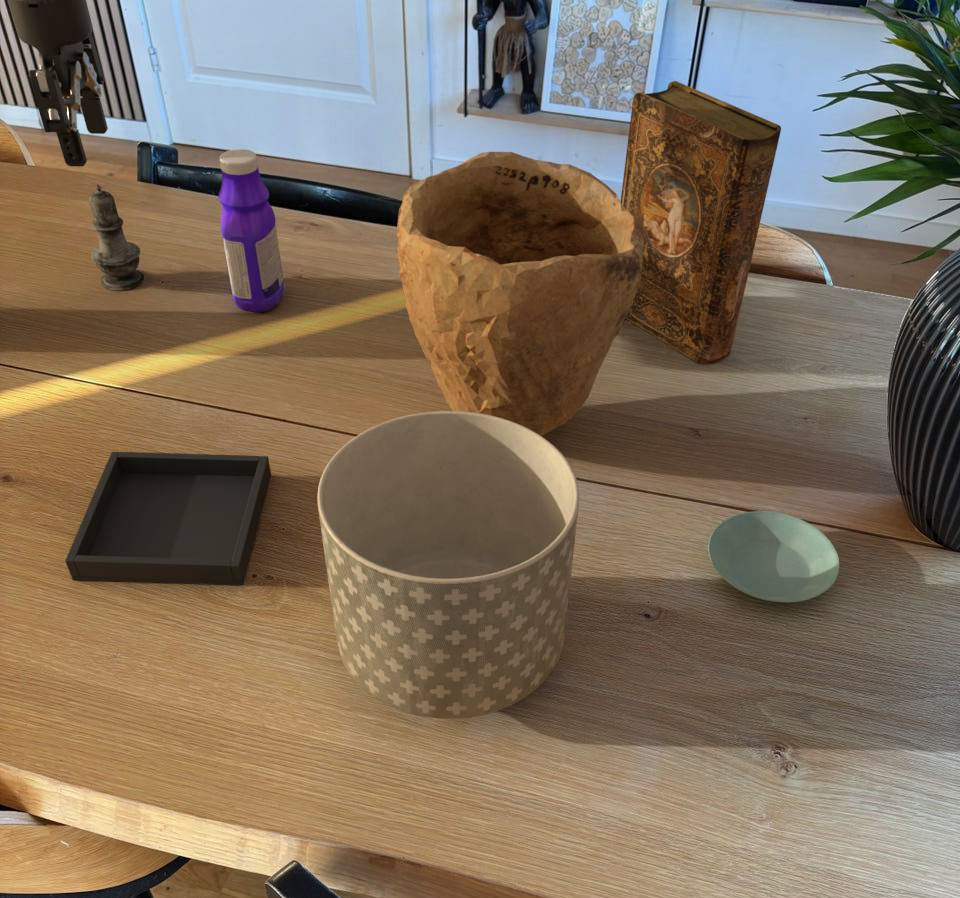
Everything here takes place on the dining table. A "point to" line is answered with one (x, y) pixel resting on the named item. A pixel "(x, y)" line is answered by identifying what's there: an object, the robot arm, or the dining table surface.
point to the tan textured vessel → (517, 283)
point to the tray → (172, 519)
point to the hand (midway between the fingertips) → (88, 148)
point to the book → (695, 213)
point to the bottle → (249, 233)
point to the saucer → (773, 556)
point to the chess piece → (113, 245)
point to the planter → (449, 560)
